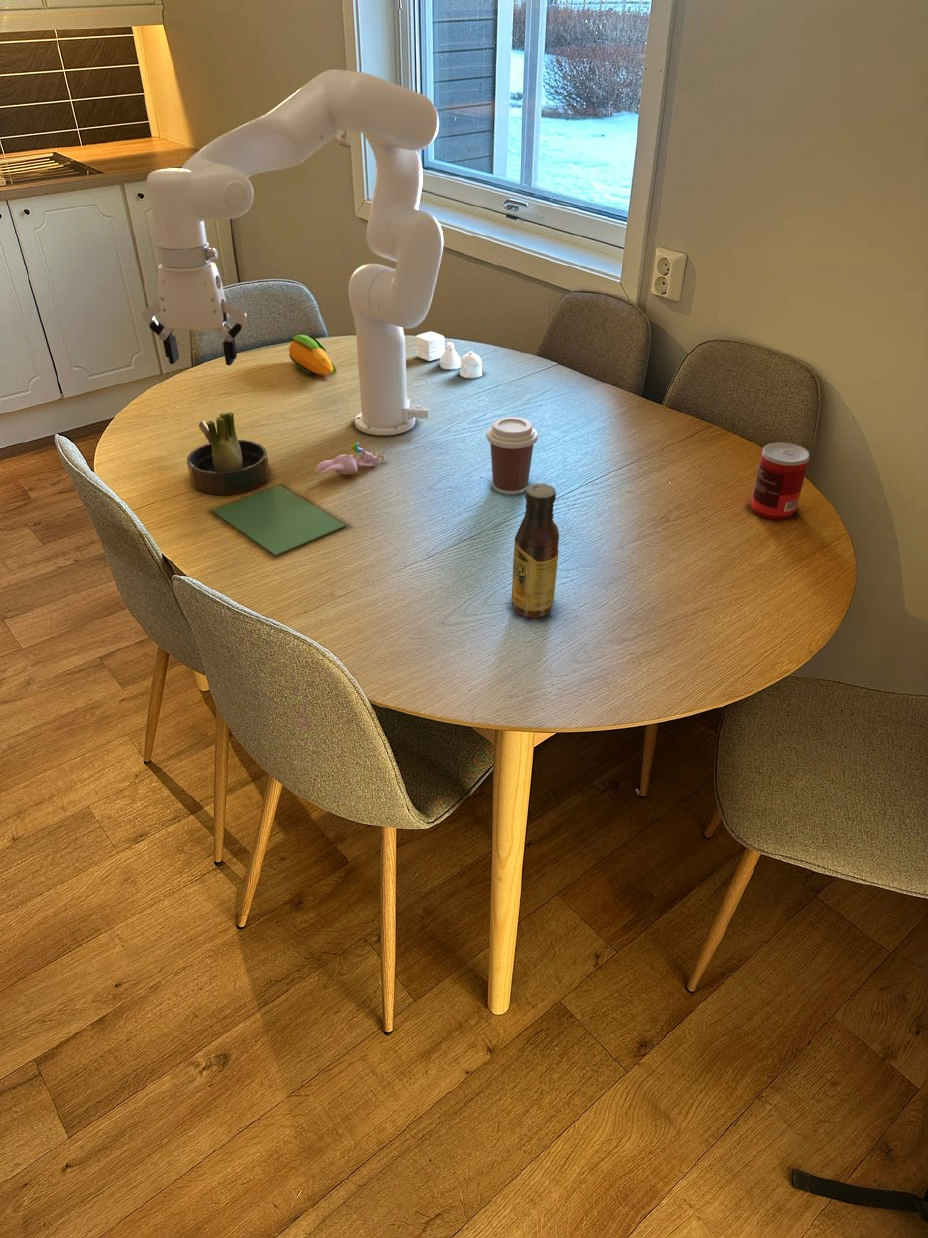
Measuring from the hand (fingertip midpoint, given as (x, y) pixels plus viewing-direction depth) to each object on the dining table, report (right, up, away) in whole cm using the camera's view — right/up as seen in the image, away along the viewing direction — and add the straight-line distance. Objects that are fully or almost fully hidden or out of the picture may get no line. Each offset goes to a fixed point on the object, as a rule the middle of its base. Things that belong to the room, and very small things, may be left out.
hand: (202, 361), depth 149 cm
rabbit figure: (+23, -17, +15) cm, 32 cm away
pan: (+1, -18, +13) cm, 22 cm away
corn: (+9, +15, +59) cm, 61 cm away
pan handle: (-5, -9, +21) cm, 23 cm away
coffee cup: (+53, -20, +11) cm, 58 cm away
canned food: (+99, -25, +4) cm, 102 cm away
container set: (+41, +17, +62) cm, 76 cm away
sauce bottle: (+55, -43, -20) cm, 72 cm away
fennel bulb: (+1, -18, +13) cm, 22 cm away
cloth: (+13, -27, +1) cm, 30 cm away
